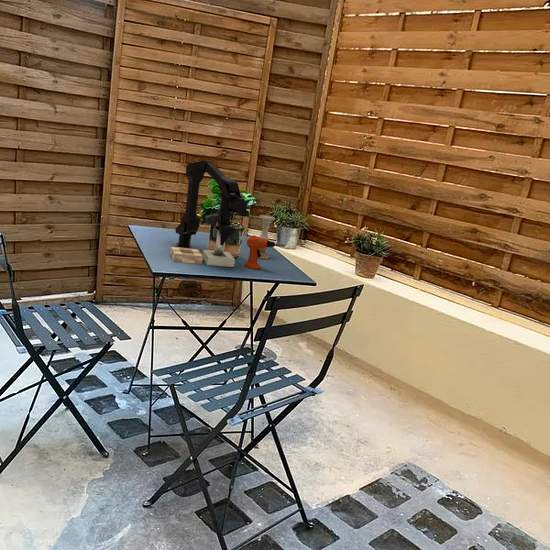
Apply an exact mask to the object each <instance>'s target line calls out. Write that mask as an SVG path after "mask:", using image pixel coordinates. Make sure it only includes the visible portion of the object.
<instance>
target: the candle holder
mask: <svg viewBox="0 0 550 550" xmlns="http://www.w3.org/2000/svg"><path fill="white" fill-rule="evenodd" d="M259 219H262V222H263V224H262V226H261V228H262V231H261V234H260V235H259V237H260V238H264V239H267V240H269V241H270V239H269V236H268V233H269V229H270V224H271V223H272V221H275V220H276V218H275V216H272V215H269V214H268V215H267V214H260V215H259ZM267 249H268V248H267V247H266V248H261V249H258V250H260V254H261V257H259V258H258V259H261V260H269V259H270V255H269V254H268V253H267V252H266V250H267Z"/></svg>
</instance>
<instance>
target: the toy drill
mask: <svg viewBox="0 0 550 550" xmlns="http://www.w3.org/2000/svg"><path fill="white" fill-rule="evenodd" d="M246 245H247V247H248V248H249V254H248V259H247V261H245V262H244V265H243V266H244V267H245V268H248V269H251V270H255V269H260V270H261V268H262V266H261V265H260V264H259V263H258V261H259V260H258V259H259V257H261V254H260V250H258V249H261V248H266V247H267V249H268V248H274V247H282V248H285V247H286V245H285V244H281V243H276V242H274V241H272V240H270V239H269V240H267V239H264V238H260V236H257V235H251V236H250V237H249V238H247V240H246Z"/></svg>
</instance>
